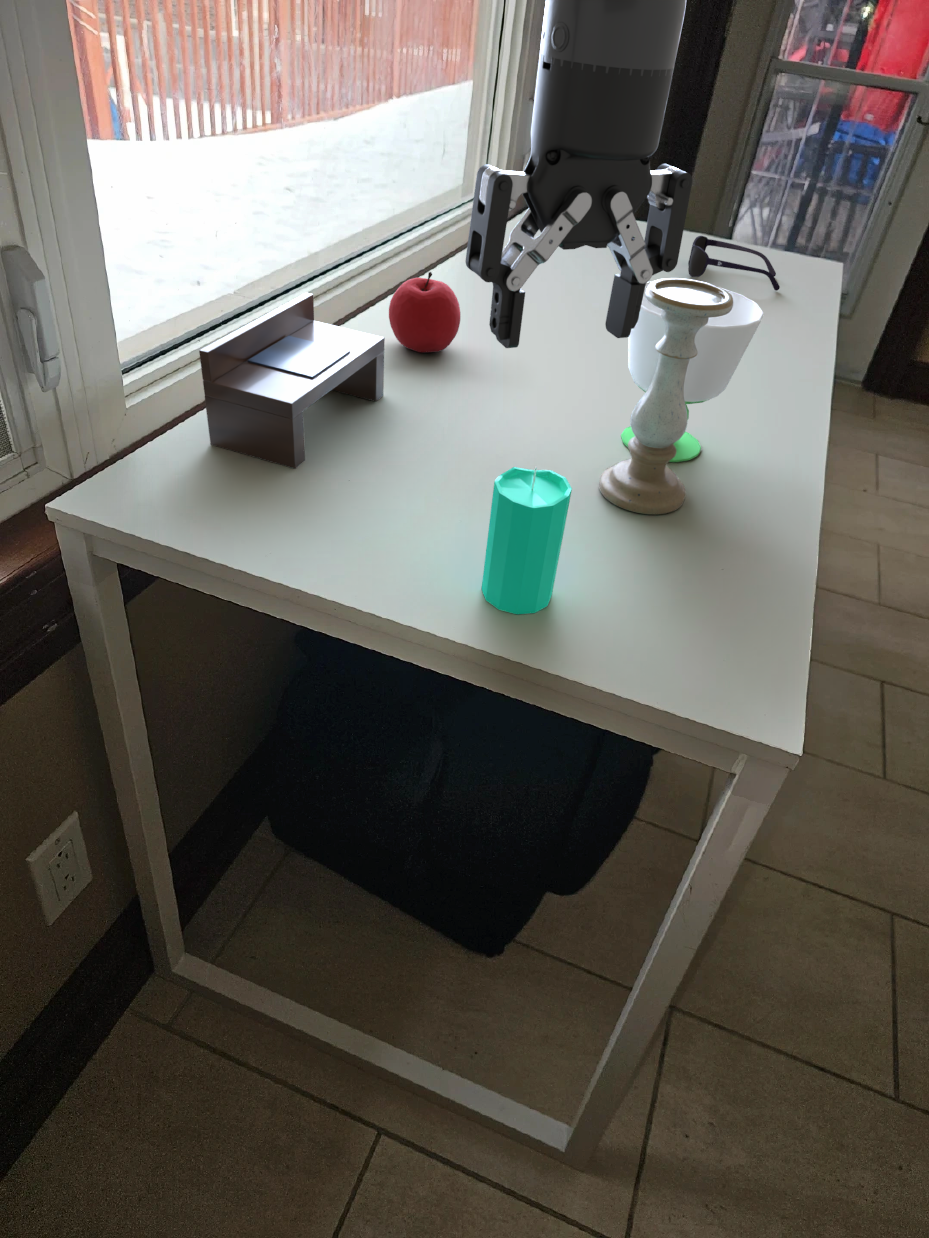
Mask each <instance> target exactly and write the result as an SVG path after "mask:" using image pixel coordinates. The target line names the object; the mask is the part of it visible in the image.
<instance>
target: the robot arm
mask: <svg viewBox="0 0 929 1238" xmlns="http://www.w3.org/2000/svg"><path fill="white" fill-rule="evenodd" d="M686 6H687V0H545V6H544V13H543V14H544V15H543V21H542V31H541V39H540V48H539V49H540V50H539V56H538V57H539V59H538V65H537V74H536V82H535V93H534V99H533V100H534V101H533V108H532V109H533V110H532V117H531V118H532V119H531V125H530V148H531V149H530V155H529V158H528V161H527V163H526V166H525V167H524V169H523V170H522V171H518V170H517V171H516V170H503V169H499V168H498V167H495V166H492V165H491V164H489V163H488V164H483V165H481V166H480V167H479V169H478V170H477V172H476V178H475V185H474V192H473V193H474V194H473V199H472V209H471V215H470V223H469V230H468V231H469V232H468V239H467V245H466V254H465V266H466V267H467V269H469V270H470V271H471V272H473V273H474V274H476V275H477V276H478V277H479V278H480V279H481V280H483V282H485V283H491V284H492V296H491V304H490V314H489V315H490V316H489V324H488V325H489V329H490V332H491V334H493V335H494V336H495V339H496V341H498V343H500V345H502V346H503V347H504V348H505V349H513V348H518V347H519V344H520V339H521V331H522V323H523V314H524V306H525V297H526V291H525V290H524V289H522V287H523V286H524V285H525V284H526V282H527V281H528V279H529V278H530V277H531V276H532V274H533V273H534V272H535V270H536V269H537V268H538V266H539V265H541V264H546V262H547V261H549V259H550V258H551V257H552V256H553V254H554V252H555V251H556V250H557V249H558V247H559V248H560V249H562V251H563V250H577V249H579V248H583V247H586V246H587V247H591V248H594V249H607V248H608V249H609V251H610V252H611V255H612V257H613V259H614V262H615V264H616V266H617V268H618V271H620V273H617V274H616V273H615V274H614V276H613V281H612V286H611V291H610V296H609V301H608V307H607V313H606V318H605V324H604V325H605V329H606V331H607V332H608V333H610V334H611V335H612V336H614V337H615V338H616V339H626V338H627V339H628V337H629V335H630V333H631V329H633V328H634V327H635V325H636V324H637V322H638V318H639V312H640V309H641V304H642V299H643V295H644V290H645V286H646V283H647V282H650V281H651V279H652V277H653V276H655V275H657V274H659V273H661V272H665V273H671V272H672V271H673V270H674V269H676V267H677V265H678V262H679V256H680V252H681V247H682V240H683V236H684V235H683V234H684V230H685V229H684V228H685V224H686V219H687V214H688V213H687V212H688V207H689V203H690V197H691V191H692V186H693V176H692V175H691V174H690V173H689V172H686V171H685V170H682V169H679V168H677V167H675V166H672V165H670V164H667V163H661V164H660V165H659V166H658V167H657V168H656V169H655V170H651V158H652V155H654V154H655V152H656V151H657V149H658V147H659V143H660V139H661V134H662V129H663V124H664V120H665V119H664V118H665V114H666V108H667V106H668V105H667V104H668V100H669V99H668V98H669V94H670V90H671V85H672V80H673V75H674V74H673V73H674V70H675V63H676V58H677V54H678V48H679V44H680V40H681V34H682V29H683V24H684V19H685V14H686V8H687V7H686ZM520 196H522V197H523V199H524V201H525V202H526V203H525V204H526V205H527V207H528V208H527V209H526V211H525V212H524V214H523V215H522V216H521V218H519V220H518V222H517V223H516V224H515V226H514V227H513V229H512V230H511V232H510V233H509V239H508V242H507V244H506V245H505V246H504V244H505V237H506V232H507V231H506V230H507V225H508V218H509V213H510V212H512V211H513V210H514V209H515V208H516V207H517V202H518V199H519V198H520ZM646 199H647V203H648V204H649V209H648V215H647V222H646V229H645V235H644V237H643V234H642V232H641V230H640V228H639V224H638V222H637V220H636V217H635V214H636V212H637V211H638V210H639V208H640V207H641V206H642V204H643V203H644V202H645V200H646ZM538 232H540V234H539V235H538V236H536V235H537V233H538Z"/></svg>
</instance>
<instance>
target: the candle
mask: <svg viewBox="0 0 929 1238" xmlns="http://www.w3.org/2000/svg"><path fill="white" fill-rule="evenodd" d="M572 490H573V487H572V486H571V484H570V482H569V480H568V479H567V477H566V476H563V475H561V474H560V473H557V472H556V471H554V470H552V469H538V467H537V466H534V469H531V468H523V467H517V466H513V467H511V468H509V469H508V470H506V471H504V472H503V473H500V474H499V475H498V476H497V477H496V479H495V480H494V481H493V490H492V497H491V498H492V499H491V507H490V515H489V523H488V531H487V532H488V533H487V541H486V548H485V556H484V565H483V573H482V581H481V582H482V583H481V591H482V594H483V597H484V600H485V601H486V602H487V603H489V604H490V605H492V606H493V607H494V608H496V609H497V610H499V611H502V612H506V613H510V614H514V615H527V614H536V613H538V612H540V611H542V610H543V609H545V608H546V607H548V606H549V604H550V601H551V599H552V597H553V591H554V586H555V581H556V575H557V570H558V566H559V560H560V554H561V549H562V543H563V538H564V533H565V528H566V522H567V517H568V512H569V511H568V510H569V506H570V500H571V496H572V495H571V494H572Z"/></svg>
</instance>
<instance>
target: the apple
mask: <svg viewBox="0 0 929 1238" xmlns="http://www.w3.org/2000/svg"><path fill="white" fill-rule="evenodd" d="M432 276H433V273H432V271H428V276H427V278H426V277H425V278H424V277H413V278H410V279H407V280H405V281H404V282H403V283H402V284H401V285H399V287H398V288H397V289H396V290H395V292H393V295H392V297H391V299H390V301H389V306H388V320H389V325H390V327H391V330H392V333H393V335H394V337H395V339H396V340H397V341H398V342H399V343H400V344H401V346H403V347H405V348H406V349H409V350H412V351H414V352H416V353H420V354H422V353H423V354H424V353H439V352H441V351H443V350H445V349H447V348H448V347H449V346H450V345H451V343H452V342H453V341H454V339H455V338H456V337H457V334H458V333H459V329H460V325H461V307H460V303H459V300H458V297H457V296H456V293H455V292H454V290H453V289H452V288H451V287H450V285H449V284H447V283H446V282H443V281H441V280H437V279H432V278H431V277H432Z"/></svg>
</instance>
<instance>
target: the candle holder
mask: <svg viewBox="0 0 929 1238" xmlns="http://www.w3.org/2000/svg"><path fill="white" fill-rule="evenodd" d="M652 281H653V282H651V283H650V284H649V286H648V287H647V289H646V299H647V300H648V301H649V302H650V303H651V304H653V305H654V306H656V307H658V308H660V309H662V311H661V317H662V319H663V320H664V322H665V325H666V332H665V335H664V336H663V338H662V339H661V340H660V341H659V342H658V343H657V344H656V346H655V348H656V350H657V351H658V352H659V360H658V364H657V367H656V371H655V374H654V378H653V380H652V382H651V384H650V386H649V388H648V390H647V391H646V392H644V393H643V395H642V396H641V397H640V398H639V400H638V401H637V403H636V404H635V406H634V407H633V410H632V411H631V414H630V419H629V423H630V425H629V426H631V429H632V431H633V433H634V435H635V437H633V438H631V439H630V441H629V442H628V447H627V449H628V451H629V452H630V456H631V458H629V459H627V458H626V459H624V460H621V461H619V462H617V463H616V464H615V465H611V466H609V467H607V468H606V469H604V470H603V471H602V472H601V474H600V478H599V483H598V488H599V491H600V493H601V495H602V496H603V497H604V498H605V499H606V500H607V501H608V502H610V503H611V504H613V505H615V506H616V507H619V508H621V509H623V510H626V511H629V512H632V513H637V514H643V515H664V514H665V515H666V514H669V513H672V512H674V511H677V510H678V509H679V508H681V507H682V505H683V504H684V501H685V499H686V496H687V489H686V487H685V485H684V483H683V481H681V479H680V478H679V477H678V475H677V473H676V472H675V471H674V470H673V469H672V468H670V467H668V466H667V464H668V463H670V462H669V461H670V460H671V459H672V458H674V457H675V455H676V447H675V446H674V443H675V442H676V441H678V440H679V439H680V438H681V437H682V436H683V434H684V433H685V432H687V431H686V430H687V427H688V422H689V421H688V420H689V419H687V409H686V405H687V404H685V399H684V382H685V377H686V372H687V368H688V364H689V361H690V359H691V358H694V357H696V356H697V354H698V351H697V348H696V345H695V340H694V339H695V336H696V334H697V332H698V331H699V329H701V328H702V327H703V326H705V325H706V324H707V323H708V320H709V317H719V316H723V315H726V314H728V313H729V312H730V311H731V310H732V307H733V297H732V296H731V294H730V293H729V292H727V291H726V290H724V289H725V288H724V289H722V288H723V287H721V286H718V285H715V284H712V283H709V282H705V281H700V280H696V279H690V278H681V277H680V278H679V277H667V278H659V279H656V280H652ZM720 287H721V288H720Z"/></svg>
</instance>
